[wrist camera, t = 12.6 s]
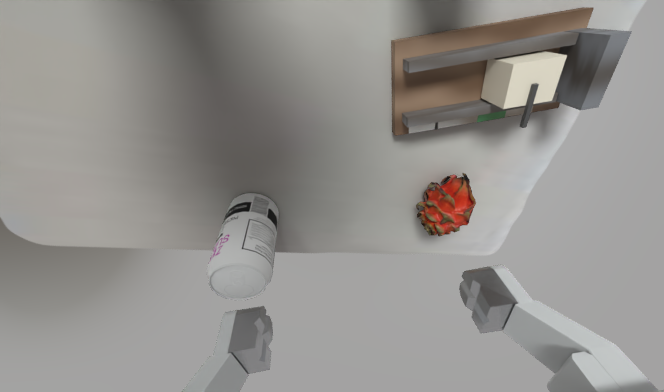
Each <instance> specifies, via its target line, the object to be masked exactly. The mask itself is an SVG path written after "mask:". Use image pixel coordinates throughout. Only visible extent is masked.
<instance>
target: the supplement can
mask: <svg viewBox="0 0 664 392" xmlns="http://www.w3.org/2000/svg"><path fill="white" fill-rule="evenodd" d="M278 217H279V212H278V208H277V206H276V205H275V203H274V202H273V201H272V200H271V199H269V198H268V197H266V196H264V195H261V194H258V193H247V194H243V195H239V196H238V197H236V198H235V199H233V201H232V202H231V204H230V205H229V208H228V211H227V213H226V216H225V219H224V222H223V224H222V227H221V230H220V233H219V236H218V238H217V241H216V244H215V247H214V249H213V253H212V255H211V258H210V261H209V263H208V266H207V276H208V279H209V286H210V288H211V289H212V290H213V291H214V292H215V293H216V294H217V295H219V296H221V297H224V298H226V299H231V300H248V299H252V298H255V297H257V296H259V295H260V294H261V293H262V292H263V291H264V290H265V287H266V286H267V285H268V283H269V282H270V281H271V277H272V273H273V263H274V255H275V245H276V236H277V227H278Z"/></svg>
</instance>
